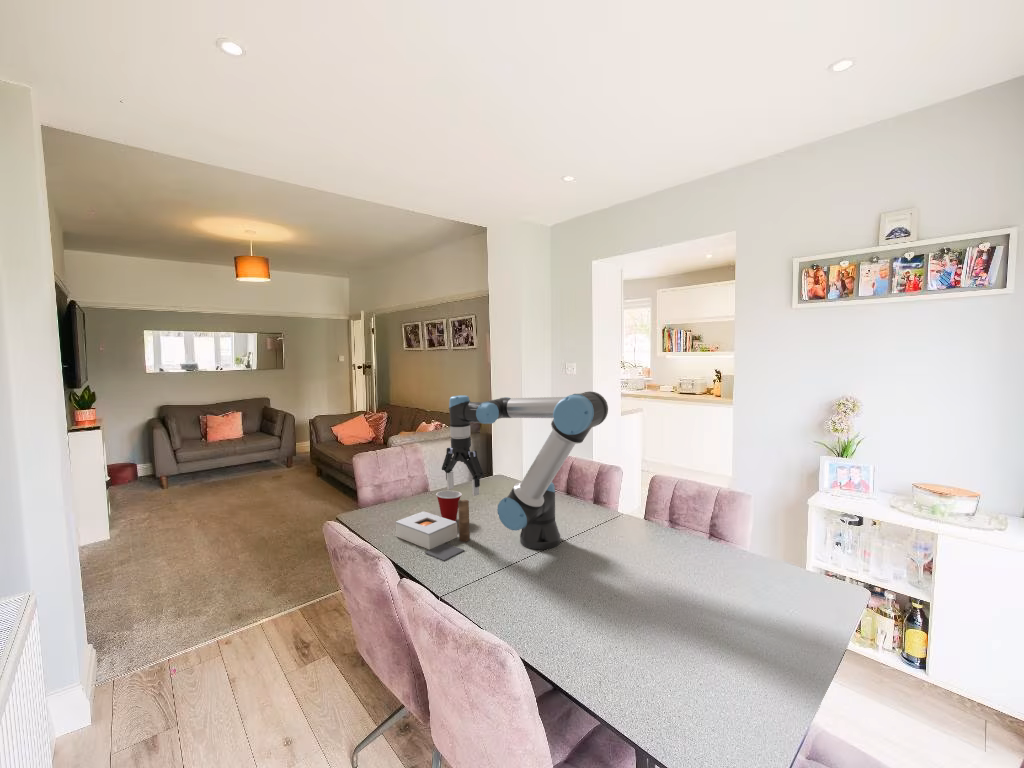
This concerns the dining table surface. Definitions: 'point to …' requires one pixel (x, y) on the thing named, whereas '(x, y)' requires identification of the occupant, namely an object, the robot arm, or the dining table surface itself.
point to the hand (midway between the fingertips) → (462, 492)
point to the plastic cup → (448, 504)
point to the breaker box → (426, 530)
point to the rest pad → (444, 551)
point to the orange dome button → (425, 523)
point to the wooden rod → (464, 520)
